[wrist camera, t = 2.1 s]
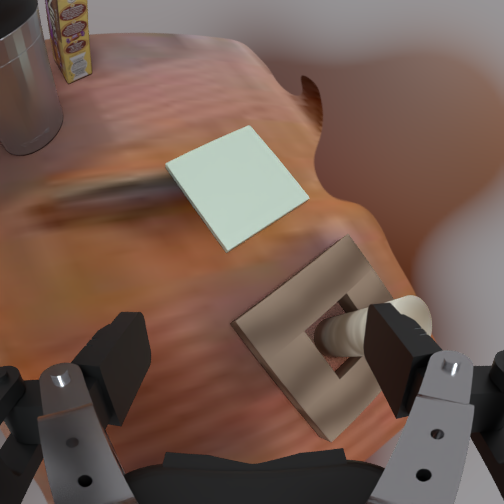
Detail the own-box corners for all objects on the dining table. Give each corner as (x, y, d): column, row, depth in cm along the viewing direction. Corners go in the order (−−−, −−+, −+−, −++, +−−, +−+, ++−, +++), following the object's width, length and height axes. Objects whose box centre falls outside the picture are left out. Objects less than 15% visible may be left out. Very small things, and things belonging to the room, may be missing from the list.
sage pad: (165, 167, 34) (165, 163, 33) (248, 128, 39) (249, 125, 38) (226, 253, 33) (227, 250, 32) (307, 200, 38) (309, 198, 37)
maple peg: (306, 334, 32) (382, 320, 21) (334, 309, 34) (413, 284, 22) (329, 365, 32) (411, 365, 20) (355, 339, 34) (439, 326, 22)
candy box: (95, 72, 36) (88, -15, 22) (68, 85, 34) (53, -3, 20) (77, 47, 37) (70, -30, 23) (53, 58, 35) (40, -19, 21)
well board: (230, 323, 31) (235, 321, 29) (337, 241, 37) (348, 233, 35) (320, 437, 29) (331, 442, 27) (407, 343, 35) (420, 342, 33)
